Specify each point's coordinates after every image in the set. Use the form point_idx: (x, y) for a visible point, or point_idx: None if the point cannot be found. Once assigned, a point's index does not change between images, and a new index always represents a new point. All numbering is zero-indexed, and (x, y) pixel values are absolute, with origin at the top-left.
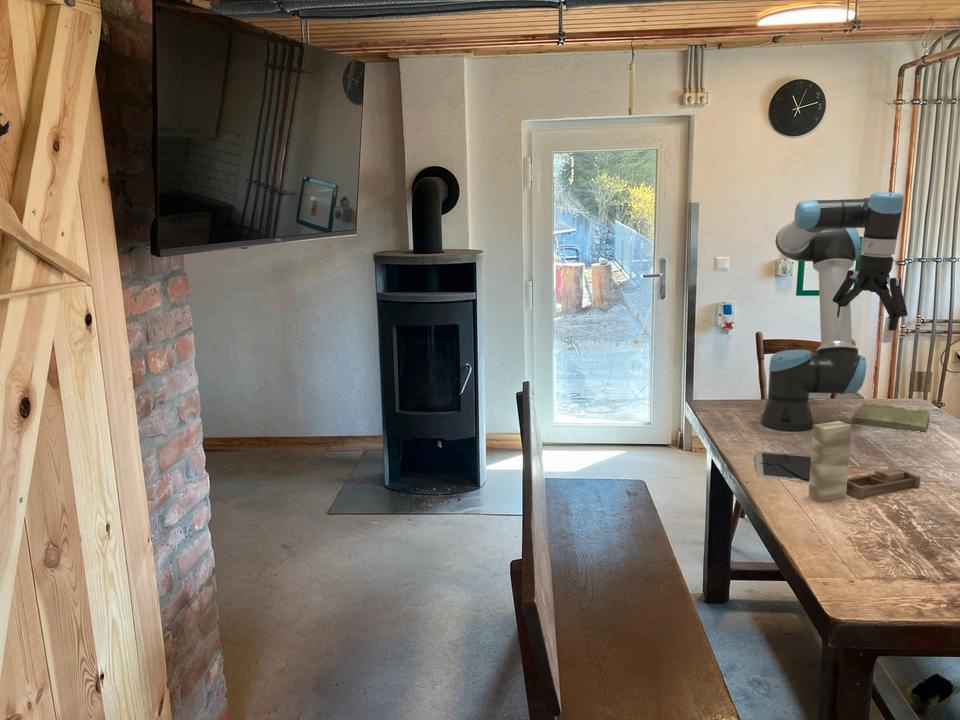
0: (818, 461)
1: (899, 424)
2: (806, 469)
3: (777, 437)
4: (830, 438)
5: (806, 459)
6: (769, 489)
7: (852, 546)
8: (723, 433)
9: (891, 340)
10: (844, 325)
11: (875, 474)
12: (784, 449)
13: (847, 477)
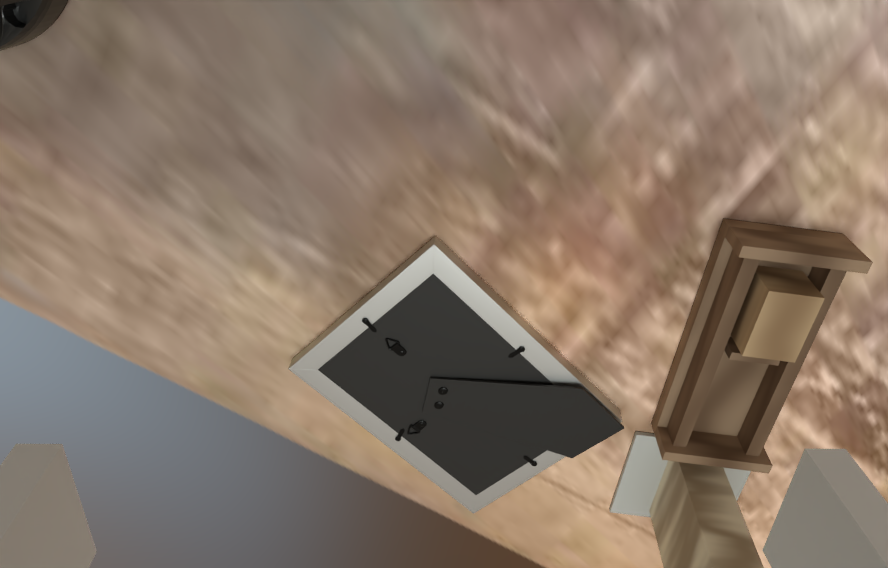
0: None
1: None
2: (524, 398)
3: (134, 132)
4: None
5: (443, 309)
6: (533, 513)
7: None
8: (23, 268)
9: (855, 471)
10: (38, 549)
11: (739, 347)
12: (280, 233)
13: (738, 506)
